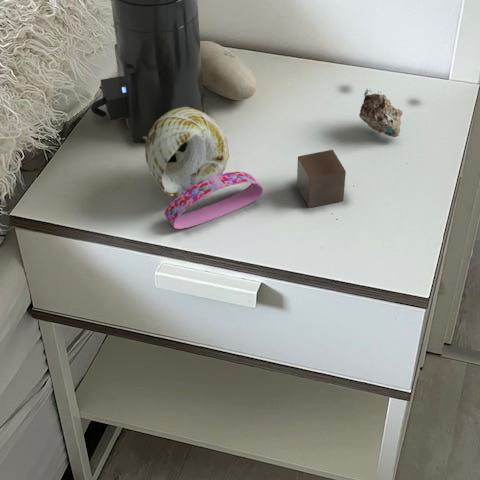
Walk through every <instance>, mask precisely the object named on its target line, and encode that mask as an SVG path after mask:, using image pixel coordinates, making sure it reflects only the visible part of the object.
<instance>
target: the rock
mask: <svg viewBox="0 0 480 480" xmlns="http://www.w3.org/2000/svg"><path fill="white" fill-rule="evenodd" d="M344 89H345V88H344ZM369 93H371V94H369ZM379 93H380V94H379ZM381 93H382V91H379V90H378V91H377V93H372V90H371V88H369V89H366V90H365V91H364V93H363V95H364V98H363V101H362V102H363V103H362V104H361V106H360V110H359V115H358V117H359V118H360V119H361V121H363V122H364V123H365V124H366V125H367V126H368V127H369V128H371V129H372V130H374V131H376V132H377V133H378V134H382V133H383V134H384V135H385V136H388V137H392V138H393V137H394V138H396V137H399V135H400V132H401V124H402V121H401V118H402V115H403V110H402V109H399V108H395V107H394V106H393V105H392V102H391V100H390V99H388V98H387V95H385V94H381Z"/></svg>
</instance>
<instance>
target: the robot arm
mask: <svg viewBox="0 0 480 480" xmlns="http://www.w3.org/2000/svg"><path fill="white" fill-rule="evenodd" d="M198 3H199V2H198V0H110V5H111V13H112V19H113V27H114V33H115V34H114V36H115V41H116V42H115V44H114V47H113V48H114V55H115V61H116V62H115V63H116V68H117V76H113V77H108V78H103V79H100V86H101V92H102V97H101V98H99V99H97V100H96V101H94V102H93V103H92V104H91V106H90V110H91V112H92V113H93V114H94V115H96V116H98V117H100V118H103V119H104V118H105V117H106V116H107V114H108V118H109V121H115V120H121V119H122V120H123V119H125V122H126V127H127V129H128V131H129V133H130V137H131V139H132V142H133V143H140V142H141V143H142V142H143V143H146V140H147V137H148V134H149V132H150V130H151V128H152V127H153V125H154V124H155V122H156V121H157V120H158V119H159V118H160V117H162V116H163V115H164V114H166V113H168V112H169V111H171V110H174V109H177V108H181V107H190V108H193V109H196V110H199V111H201V112H204V113H206V109H205V99H204V98H206V89H205V88H204V85H203V81H202V65H201V50H200V41H201V37H200V36H201V33H200V19H199V4H198ZM104 105H105V109H106V111H107V112H106V111H105V110H103V109H101V107H103V106H104Z"/></svg>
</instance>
